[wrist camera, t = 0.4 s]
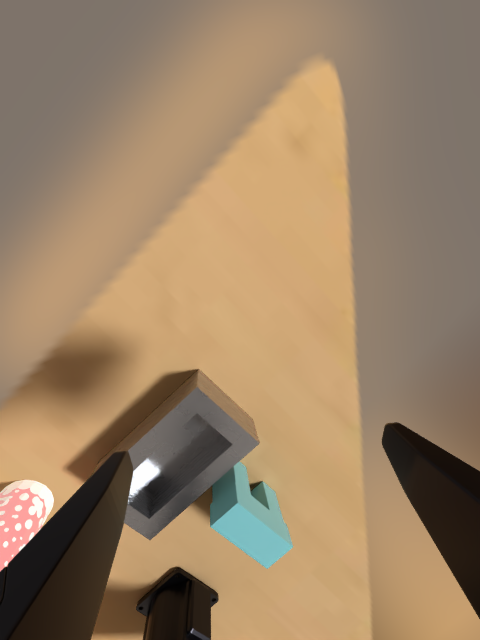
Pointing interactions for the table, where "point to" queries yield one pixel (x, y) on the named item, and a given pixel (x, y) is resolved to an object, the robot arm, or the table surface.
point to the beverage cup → (21, 516)
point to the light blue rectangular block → (249, 517)
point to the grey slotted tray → (182, 452)
